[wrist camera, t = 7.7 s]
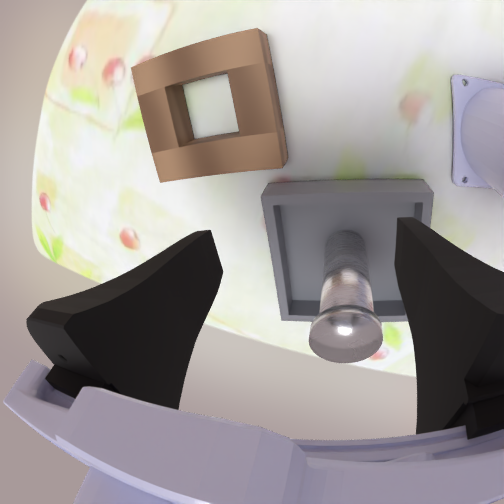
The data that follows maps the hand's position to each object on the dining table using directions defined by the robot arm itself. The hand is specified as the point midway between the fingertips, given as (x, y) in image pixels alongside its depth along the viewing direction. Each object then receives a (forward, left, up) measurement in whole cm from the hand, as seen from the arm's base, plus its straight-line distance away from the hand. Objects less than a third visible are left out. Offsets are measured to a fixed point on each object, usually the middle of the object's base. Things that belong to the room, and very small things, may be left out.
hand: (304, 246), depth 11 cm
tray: (-2, +7, -10) cm, 13 cm away
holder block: (+7, -5, -10) cm, 13 cm away
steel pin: (-2, +6, -10) cm, 12 cm away
